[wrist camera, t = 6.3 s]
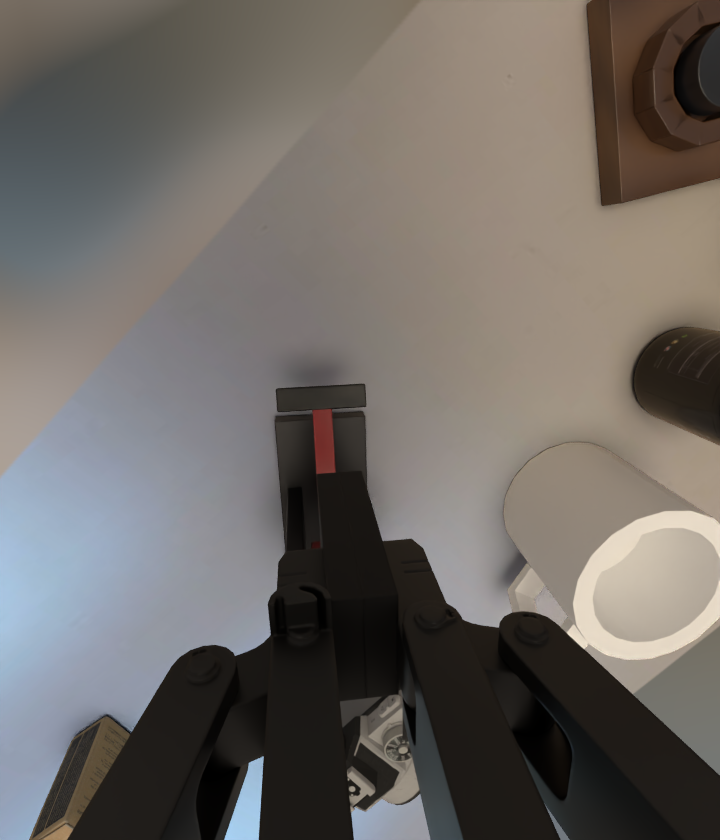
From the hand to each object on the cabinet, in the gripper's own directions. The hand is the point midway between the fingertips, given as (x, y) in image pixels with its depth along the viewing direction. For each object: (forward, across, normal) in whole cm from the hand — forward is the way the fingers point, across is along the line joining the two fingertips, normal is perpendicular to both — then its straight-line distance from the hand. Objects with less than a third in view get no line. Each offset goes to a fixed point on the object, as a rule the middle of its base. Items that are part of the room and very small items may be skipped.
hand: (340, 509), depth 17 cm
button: (+15, +22, +17) cm, 31 cm away
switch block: (+18, +22, +17) cm, 33 cm away
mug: (+19, +18, -12) cm, 28 cm away
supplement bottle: (+19, +26, -1) cm, 32 cm away
